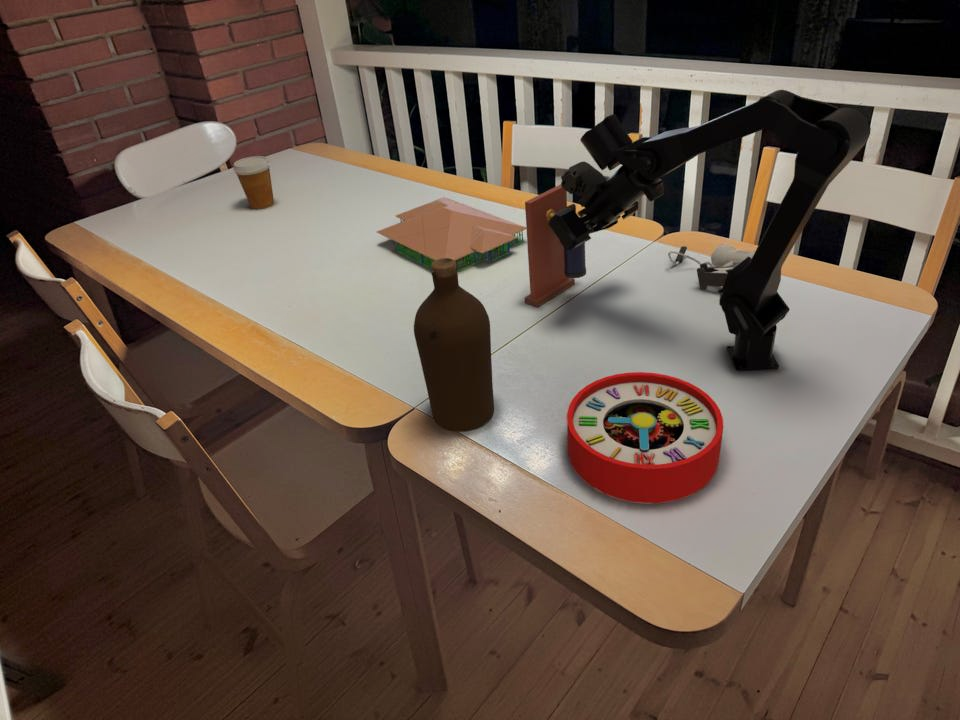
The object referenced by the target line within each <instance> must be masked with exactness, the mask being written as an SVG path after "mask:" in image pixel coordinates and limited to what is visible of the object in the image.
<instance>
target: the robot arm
mask: <svg viewBox="0 0 960 720" xmlns="http://www.w3.org/2000/svg"><path fill="white" fill-rule="evenodd" d="M871 128H872V127H871V126H870V123H869V119H868V118H867V116H866V115H865V114H864V113H862V111H860V110H858V109H856V108H852V107H841V108H840V107H838V106H836V105H834V104H831V103H829V102H825V101H821V100H817V99H812V98H808V97H803V96H801V95H798V94H796V93H793V92H792V91H788V90H787V89H777V90H775V91H773V92H770V93H769V94H767V95H765V96H763V97H761V98H760V99H758V100H756V101H754V102H751V103H748V104H746V105H744V106H742V107H739V108H737V109H735V110H732V111H730V112H727V113H725V114H723V115H720V116H718V117H716V118H714V119H711V120H709V121H707V122H705V123H702V124H700V125H696V126H692V127H682V128H681V127H680V128H677V129H672V130H666V131H664V132H662V133H660V134H657V135H655V136H642V137H640V138H638V139H636V140H634V141H633V140H632V138H631V137H630V136H629V134H628V132H627V131H626V130H625V128H624V126H622V124H621V122H620V120H619V118H618V117H617V116H616V114H615V113H612V114H609V115H607V116H605V117H604V118H603V120H602V121H600V122H598V123H597V124H595V125H594V126H593V127H592V128H591V129H588V130H587V131H586V132H584V133H583V135H582V136H581V138H580V139H579V141H580V142H581V144H582V145H583V147H584V148H585V150H586V151H587V152H588V154H589V155H590V157H591V158H592V159H593V161H594V162H595V163H596V165H597V167H598V168H599V169H600V170H601V171H604V170H606V169H608V170H609V171H613V170H614V169H616V168H617V167H618V166H620V165H621V166H620V167H619V168H618V169H617V170H616V171H614V173H612V174H611V175H610V177H607V178H606V177H605V176H604V174H603V173H602V172H601V171H599V170H598V169H597V168H595V167H594V166H593V165H591V164H590V163H589V162H587V161H579V162H577V163H575V164H573V165H572V166H569V167H568V170H565V172H564V174H563V175H561V176H560V179H561V182H560V184H561V186H562V188H564V189H565V190H566V191H567V192H568V194H570V195H574V194H575V195H577V196H578V197H579V198H580V199H579V200H577V202H578V204H579V205H580V207H582V209H580V210H578V211H576V212H575V211H574V209H570V208H566V209H564V210H562V211H561V212H559V213H557V214H555V215H554V216H553V217H552V218H551V219H550V220H549V226H550V227H551V229H552V230H553V231H554V233H555V234H556V236H557V237H558V238H559V241H560V243H561V244H562V245H563V246H564V247H565V248H566V249H567V250H569V251H571V250H573V249H574V248H576V247H578V246H579V245H581V244H583V243H584V242H585V243H586V242H588V241H589V240H591V239H592V237H591V236H590V234H593V233H598V232H601V231H604V230H607V229H610V228H612V227H613V226H615V225H617V224H618V223H619V219H620V218H622V220H626V219H628V218H629V217H631V216H632V215H634V213H636V212H637V211H638V210H639V201H638V200H640V199H641V198H642V197H643V196H645V197H646V199H647V200H648V202H653V201H655V200H656V199H658V198H660V197H662V196H664V195H665V187H664V183H665V181H664V179H661V178H662V177H664V176H666V175H667V174H669V173H671V172H672V171H674V170H676V169H678V168H680V167H681V166H683V165H685V164H686V163H687V162H689V161H691V160H692V159H694V158H696V157H697V156H698V155H700V154H704V153H707V152H708V151H711V150H713V149H716V148H719V147H721V146H725V145H726V144H729V143H732V142H735V141H737V140H740V139H742V138H745V137H747V136H750V135H752V134H755V133H758V132H760V131H762V130H766V131H768V132H770V133H772V134H773V135H774V136H775V137H776V138H777V139H778V140H779V141H780V142H781V143H782V144H783V145H785V146H786V147H787V148H789V149H790V150H793V151H795V152H796V155H795V159H794V169H793V178H792V181H791V183H790V185H789V186H788V189H787V190H786V192H785V194H784V197H783V198H782V200H781V202H780V204H779V205H778V208H777V210H776V211H775V213H774V215H773V217H772V219H771V221H770V223H769V225H768V227H767V228H766V230H765V233H764V234H763V236H762V238H761V240H760V241H759V244H758V246H757V247H756V249H755V250H754V252H755V253H754V255H753V257H752V259H751V258H750V257H749V256H748V257H747V258H745V259H744V260H743V261H742V262H740V263H739V264H738V265H736V266H735V267H734V268H732V269H731V270H730V271H729V273H728V275H727V278H726V281H725V284H724V286H723V287H722V286H721V288H720V289H719V290H717V293H719V294H721V295H720V296H719V299H718V301H719V303H718V305H719V306H720V307H721V310H722V312H723V313H724V316H725V321H726V325H727V330H728V333H730V334H731V335H735V336H734V341H733V342H734V343H733V345H727V346H726V347H725V351H726V353H727V355H728V357H729V359H730V362H731V364H732V366H733V368H734V370H735V371H736V372H751V371H768V370H770V371H771V370H779V368H780V365H779V362H778V361H777V359H776V357H775V355H774V353H773V352H774V347H775V341H776V335H777V329H778V326H777V325H778V324H779V323H780V322H781V321H783V320H784V319H785V317H786V316H787V315H788V313H789V312H790V307H789V306H788V305H787V303H786V302H785V301H784V299H783V298H782V296H781V295H780V294H779V292H778V290H779V288H780V287H779V286H780V284H781V281H782V268H783V265H784V264H785V262H786V260H787V258H788V256H789V255H790V253H791V252H792V250H793V248H794V246H795V244H796V243H797V241H798V239H799V237H800V236H801V234H802V232H803V230H804V228H805V227H806V225H807V223H808V222H809V220H810V218H811V217H812V215H813V213H814V211H815V210H816V208H817V206H818V205H819V202H820V201H821V199H822V197H823V196H824V194H825V192H826V191H827V189H828V187H829V186H830V184H831V183H832V182H833V181H834V180H835V179H836V178H837V176H838V175H839V174H840V173H842V171H843V170H844V169H845V168H846V167H847V166H848V165H849V163H851V161H852V160H853V159H854V158H855V157H856V155H857V154H858V153H859V152H860V151H861V149H862V148H863V147H864V146H865V145H866V143H867V142H868V140H869V139H870V135H871V132H872V131H871ZM622 214H623V215H622Z"/></svg>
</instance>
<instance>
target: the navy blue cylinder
mask: <svg viewBox="0 0 960 720" xmlns="http://www.w3.org/2000/svg"><path fill="white" fill-rule="evenodd" d="M566 208H570V209H574V211H575V212H576V213H577V205H576V204H575V203H571V204H568V205H567V207H565V208H563V209H561V210H560V211H559V212H561V211H562V210H564V209H566ZM564 264H565V269H564V274H565V276H566V277H569V278H574V279H580V278H583V277H585V276H586V274H587V267H586V242H584V243H583V244H581V245H579V246H578V247H576V248H574V249H573V250H571V251H569V250H567V249H566V248H565V247H564Z"/></svg>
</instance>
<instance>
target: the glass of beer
mask: <svg viewBox="0 0 960 720" xmlns="http://www.w3.org/2000/svg"><path fill="white" fill-rule="evenodd" d="M270 166H271V162H270V161H269V159H268V157H266V156H264V155H263V156H262V155H254V156H253V155H252V156H247V157H244V158H241V159H238V160H236V161H234V163H233V170H232V171H233V172H234V173H235V174H236V176H237V179H238V181H239V183H240V185H241V187H242V190H243V193H244V194H245V197H246V199H247V201H248V204H249V206H250V208H251V209H254V210H262V209H263V210H264V209H267V208H269V207H271V206H273V205H274V204H275V199H274V191H273V185H272V178H271V170H270Z"/></svg>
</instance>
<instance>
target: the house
mask: <svg viewBox="0 0 960 720" xmlns="http://www.w3.org/2000/svg"><path fill="white" fill-rule="evenodd" d="M395 217H396V218H397V219H400V222H398V223H396V224H392V225H390V226H387V227H385V228H382V229H379V230H377V231H376V234H379V235H380V236H383V237H385V238H387V239H390V240H392V241H393V242H394V244H395V249H396V252H398V253H400V254H401V255H403V256H405V257H407V258H409V259H412V260H413V261H415V262H417V263H419V264H421V265H424V266H425V267H427V268H429V269H431V270H432V263H433V261H436V260H438V259H442V258H449V259H453V260H454V261H455V263H456V265H459V264H461V263H463V262H466V260H467V261H468V260H470V264H469V262H467V264H466V263H464V265H461V267H462V268H460V266H458V270H457V268H456V270H457V273H458V272H460V271H462V270H464V269H467V268H469V267H471V266H473V265H475V264H477V263H480V262H482V261H484V260H485V261H488V262H492V261H495V260H497V259H499V258H501V257H503V256H506V255H508V254H510V249H511V248H513V247H515V246H518V245H520V244H522V243H524V235H523V233H524V232H523V231H525V230H527V228H526V226H524V225H522V224H518V223H515V222H513V221H510V220H508V219H505V218H502V217H499V216H497V215H495V214H492V213H490V212H489V213H488V212H485V211H483V210H481V209H478V208H475V207H473V206H470V205H467V204H464V203H461V202H459V201H457V200H454V199H452V198H448V197H445V196H443V197H441V198H438V199H435V200H432V201H430V202H428V203H425V204H422V205H420V206H417V207H414V208H411V209H409V210H407V211H404V212H400V213H398V214H396V215H395ZM518 235H519V236H518ZM513 241H517V244H513V243H510V242H513ZM510 244H511V245H510ZM496 248H497V250H496ZM497 253H498V254H500V253H501V256H500V255H499V256H498V257H495V258H492V260H491V254H497ZM503 253H504V254H503ZM477 255H478V256H477ZM481 255H482V256H481ZM481 257H482V259H481ZM472 258H473V259H472ZM478 258H479V261H478ZM459 259H460V260H461V261H460V260H459ZM463 259H464V260H463ZM456 261H457V262H456ZM463 266H465V267H463Z"/></svg>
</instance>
